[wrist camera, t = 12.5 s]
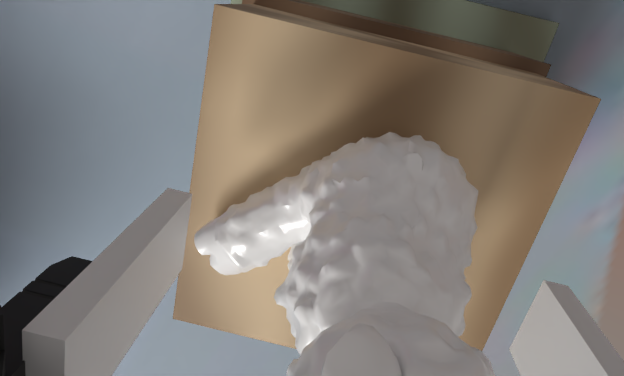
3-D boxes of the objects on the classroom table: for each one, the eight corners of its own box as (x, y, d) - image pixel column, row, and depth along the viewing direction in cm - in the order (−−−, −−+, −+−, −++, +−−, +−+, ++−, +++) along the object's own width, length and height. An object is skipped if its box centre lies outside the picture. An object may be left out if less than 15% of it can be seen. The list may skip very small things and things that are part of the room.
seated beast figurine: (196, 232, 18) (-50, 583, 7) (321, 47, 15) (228, 165, 4) (386, 353, 20) (423, 804, 9) (536, 205, 17) (893, 611, 6)
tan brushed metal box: (202, 223, 33) (113, 348, 21) (243, -54, 26) (146, -101, 14) (446, 282, 33) (497, 443, 21) (552, 22, 26) (717, 39, 14)
